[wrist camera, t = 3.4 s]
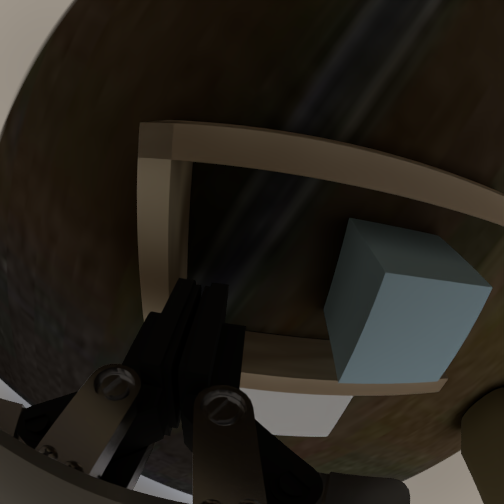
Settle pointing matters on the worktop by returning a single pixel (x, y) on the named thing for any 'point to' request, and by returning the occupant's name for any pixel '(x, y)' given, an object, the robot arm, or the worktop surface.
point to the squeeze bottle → (485, 445)
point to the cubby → (286, 161)
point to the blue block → (399, 305)
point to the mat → (297, 412)
